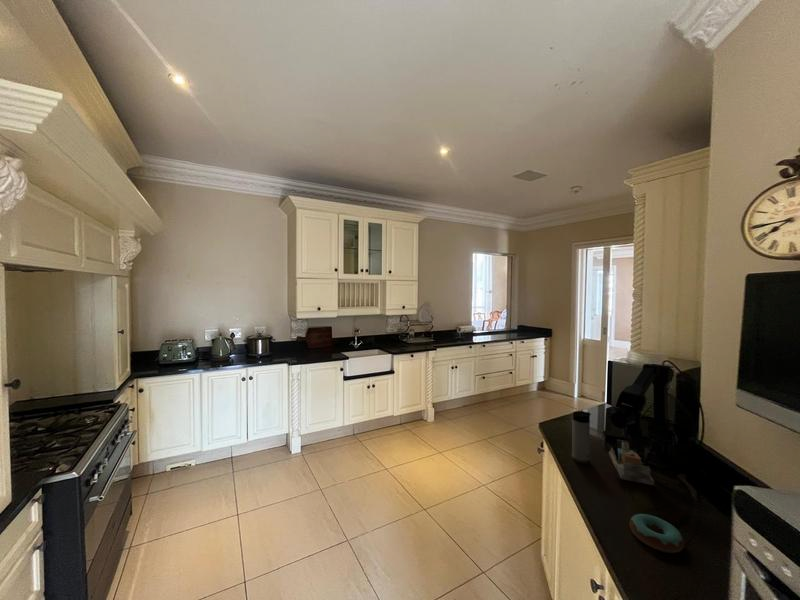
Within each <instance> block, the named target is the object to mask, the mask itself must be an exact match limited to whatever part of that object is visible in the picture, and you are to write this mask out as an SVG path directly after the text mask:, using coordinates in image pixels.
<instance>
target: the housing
mask: <svg viewBox="0 0 800 600" xmlns="http://www.w3.org/2000/svg"><path fill="white" fill-rule="evenodd" d="M623 462H625V463H631V464H636V465H641V462H642V458H641V457H640V456H639V454H638V453H637V452H635V453H633V452H627V451H622V464H623Z"/></svg>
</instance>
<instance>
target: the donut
mask: <svg viewBox="0 0 800 600" xmlns="http://www.w3.org/2000/svg"><path fill="white" fill-rule="evenodd" d="M629 528H630V529H631V532H632V533H633V534H634V536H635V538H637V539H638V540H639V541H640V542H642V543H643V544H644V545H647V546H648V547H650V548H652V549H654V550H656V549H657V551H660V552H662V553H668V554H676V553H680V552H682V551H683V548H684V547H685V540H684V537H683V535H682V534H681V532H680V531H679V530H678V529H677V528H676V527H675V526H674V525H673V524H671V523H670V522H667V521H665V520H664V519H662V518H660V517H657V516H655V515H652V514H647V513H638V514H634V515H633V516H631V517H630V520H629Z"/></svg>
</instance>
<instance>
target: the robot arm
mask: <svg viewBox="0 0 800 600" xmlns="http://www.w3.org/2000/svg"><path fill="white" fill-rule="evenodd" d="M674 376H675V371H674V369H673V368H671V366H669V365H662V364H656V363H650V364H649V363H644V364H643V365H642V369H641V371H640V373H638V376H637V377H636V378H635V380H634V382H633V383H632V384H630V385H627V386H625V388H623V390H621V391H620V393H619V395H618V398H617V401H616V403H615V407H616V408H617V409H616V410H615V412H613V413H612V414H611V415H610V422H611V424H612V425H613V426H615V428H618V429H622V433H621V434H622V436H621V435H616V433H615V432H614V431H610V430H603V431H602V434H601V435H602V438H603V440H604V442H605V443H607V444H608V445H609V446H611V448H613V451H614V454H615V456H616V459H617V460H618V448H619V445H618V442H621V443H622V442H628V444H629V449H631V450H639V451H643V452H644V456H643V463H644V464H643V465H644V466H647V465H648V463H649V462H650V460H651V458H652V456H653V455H655V456H656V457H662V458H668V459H675V458H676V457H675V456H674V446H677V445H678V441H679V440H678V436H677V434H676V432H675V431H674V426H673V425H674V424H673V423H672V422H671V421H670V419H669V412H668V411H669V399H668V398H669V395H668V393H669V392H668V391H669V390H668V386H669V385H670V383H672V381H673V379H674ZM651 385H653V387H652V388H653V417H652V419H651V420H649V422H648V424H647V425H648V426H647V432H648V436H646V435H645V436H644V435H643V430H642V412H643V411H644V409H645V406H646V404H647V397H646V393H647V391H648V390H649V388H650V387H651Z"/></svg>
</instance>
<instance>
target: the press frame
mask: <svg viewBox="0 0 800 600" xmlns="http://www.w3.org/2000/svg"><path fill="white" fill-rule="evenodd" d="M608 456H609V458H610V460H611V462H612V464H613V465H614V467H615V469H616V471H617V473H618V475H619V477H620V479H621V480H625V481H630V482H635V483H640V484H645V485H650V486H655V480H654V479H653V477H652V476H651V468H650V466H647V465H644V464H643V463H644V462H643V461H641V465H636V464H631V463H625V462H623V464H622V461H620V459H619V457H618V460H617V459H616V456H615V454H614V451H613V448H612V447H610V450H609V451H608Z"/></svg>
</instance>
